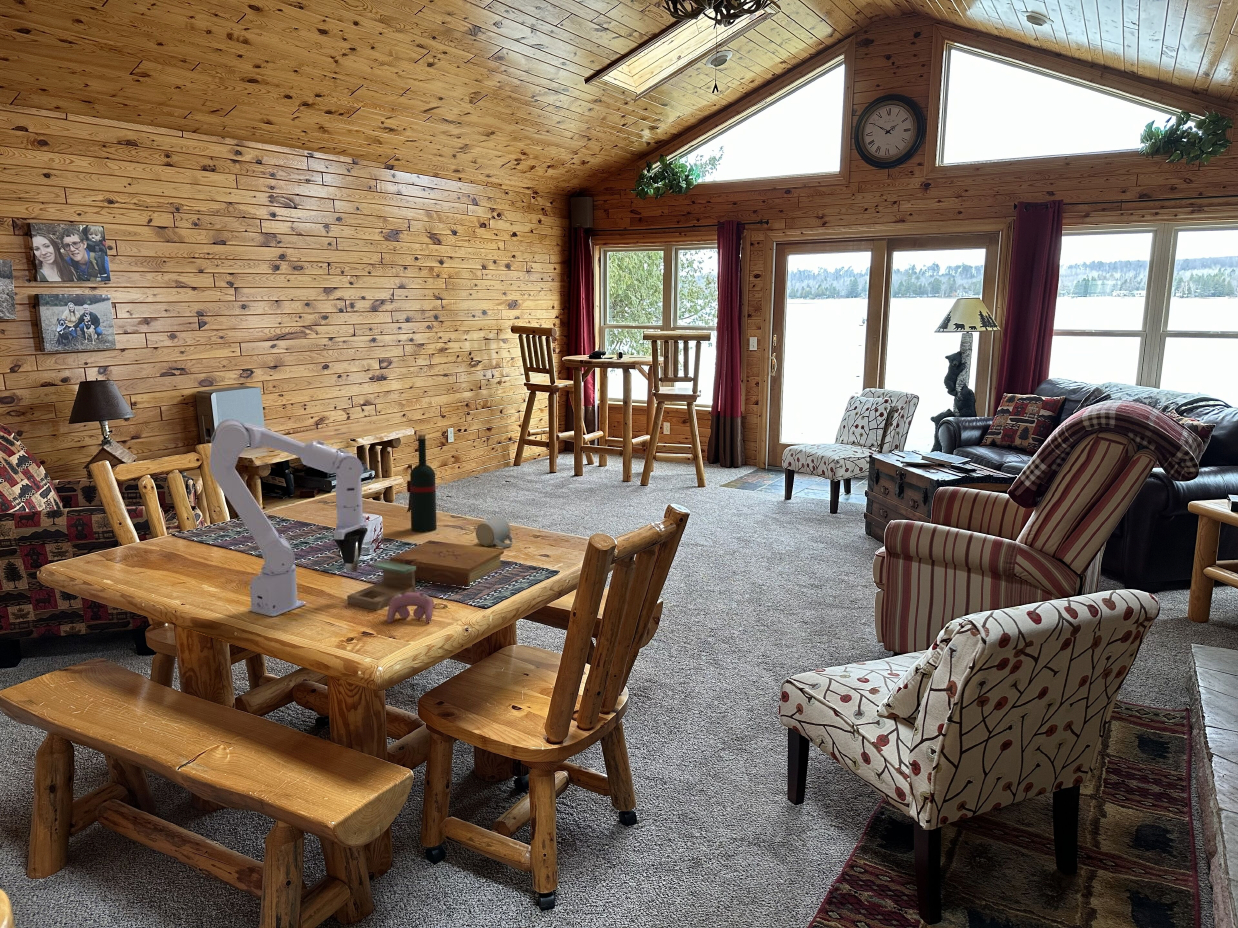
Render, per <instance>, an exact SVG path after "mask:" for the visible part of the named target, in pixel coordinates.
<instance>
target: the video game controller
mask: <svg viewBox="0 0 1238 928" xmlns="http://www.w3.org/2000/svg"><path fill="white" fill-rule="evenodd" d="M434 606H435V603H434V600H433V598H432V597H430V596H429V595H427V594H424V593H421V592H415V593H414V592H411V593H403V594H398V595H396V596H395V597H394V598H392V600H391V602H390V605H389V606H388V608H387V614H386V621H387V623H388V624H391V623H393V621H394V619H395V618H396V615H397V614H398V616H399V618H402V619H404V618H405V619H407V618H409V617H410V615H411V611H410V609H409V608H408V607H415V609H414V610H413V612H412V615H413V617H414V618H415V619H417V618H421V619H423V618H424V620H425V623H426V622H429V621H430V622H432V619H433V614H434V613H433V612H434Z"/></svg>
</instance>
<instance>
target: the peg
mask: <svg viewBox="0 0 1238 928" xmlns="http://www.w3.org/2000/svg"><path fill="white" fill-rule="evenodd" d="M359 562H360V561H359V559H358V541H357V544H356V549H355V559H354V563H353V564H345V563H344V566H345V567H344V568H345V572H346V573H354V572H355V573H356V572H358V571H359V570H360V568H359V566H360V565H359Z"/></svg>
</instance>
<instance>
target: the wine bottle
mask: <svg viewBox="0 0 1238 928" xmlns="http://www.w3.org/2000/svg"><path fill="white" fill-rule="evenodd" d="M417 436H418V437H417V438H418V441H417V443H418V464H417V465H416V466H414V467H413V468H412V469H411V471H410V473H409V479H410V480H407V481H406V492H407V493H408V494H409V495H408V507H407V510H406V513H405V514H407V513H410V530H411V531H412V532H414V533H421V534H422V533H430V532H435V531H436V530H437V529H438V527H437V493H436V472H435V470H434V469H433V468H432V467H431V466H430V465H429V464H427V450H426V448H427V443H426V434H423V433H421V434H417Z"/></svg>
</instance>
